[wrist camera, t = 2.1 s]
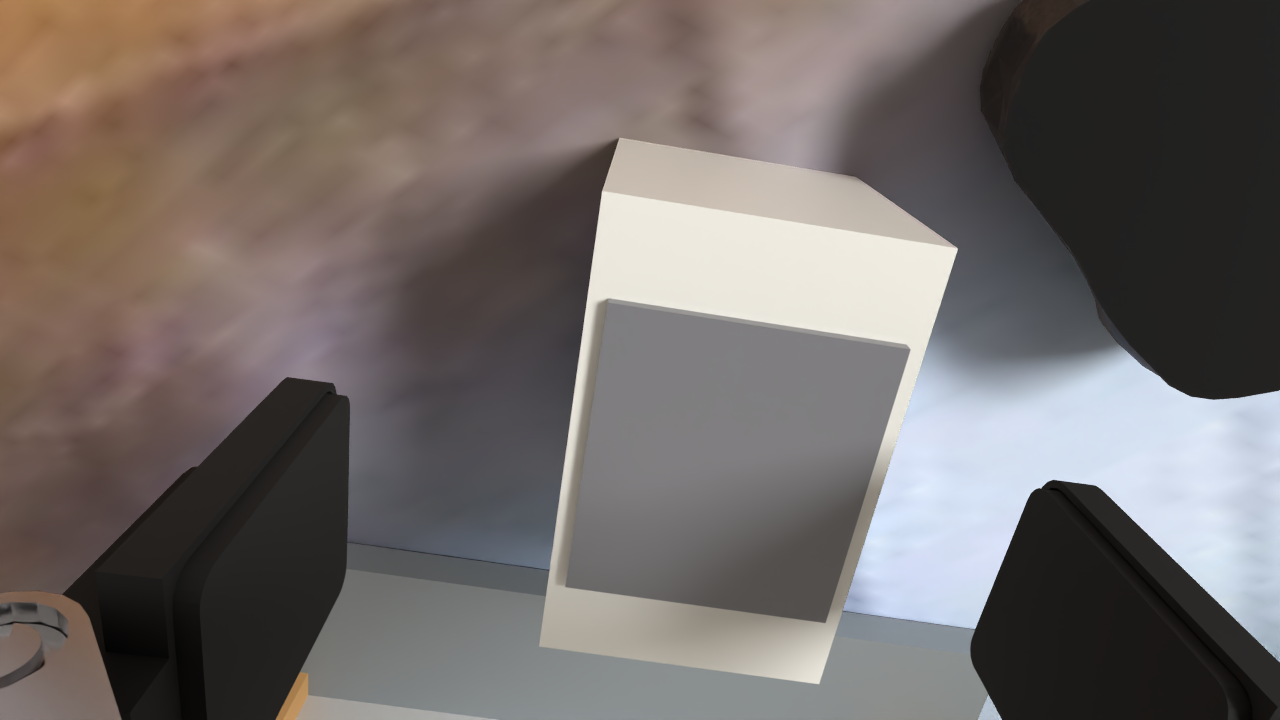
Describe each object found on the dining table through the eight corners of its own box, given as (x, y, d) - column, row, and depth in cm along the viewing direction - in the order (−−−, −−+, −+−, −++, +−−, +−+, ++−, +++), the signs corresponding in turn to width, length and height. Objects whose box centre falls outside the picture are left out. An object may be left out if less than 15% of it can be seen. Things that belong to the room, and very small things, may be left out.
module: (856, 176, 17) (963, 251, 11) (772, 500, 20) (821, 692, 14) (619, 138, 16) (601, 194, 11) (571, 470, 19) (537, 654, 14)
